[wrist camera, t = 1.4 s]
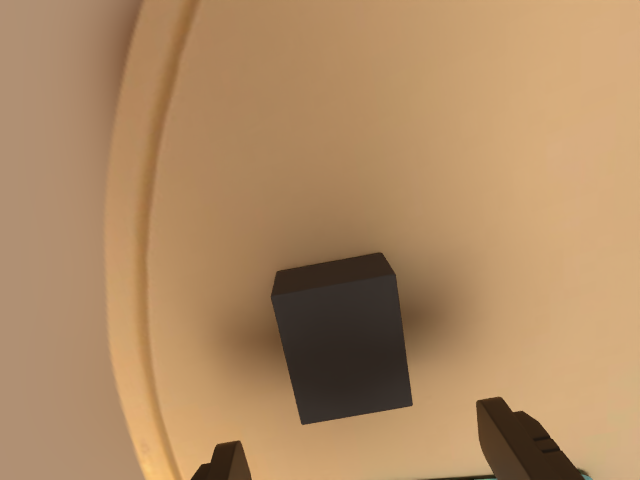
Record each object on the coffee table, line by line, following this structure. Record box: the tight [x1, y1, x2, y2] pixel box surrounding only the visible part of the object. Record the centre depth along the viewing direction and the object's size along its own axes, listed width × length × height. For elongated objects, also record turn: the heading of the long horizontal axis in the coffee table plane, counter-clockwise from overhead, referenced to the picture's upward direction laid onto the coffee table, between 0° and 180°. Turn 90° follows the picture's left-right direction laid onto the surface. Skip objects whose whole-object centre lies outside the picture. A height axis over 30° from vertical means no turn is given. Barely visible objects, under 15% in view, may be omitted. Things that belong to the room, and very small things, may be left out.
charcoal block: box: [271, 253, 413, 425], centre depth 18 cm, size 7×6×3 cm
